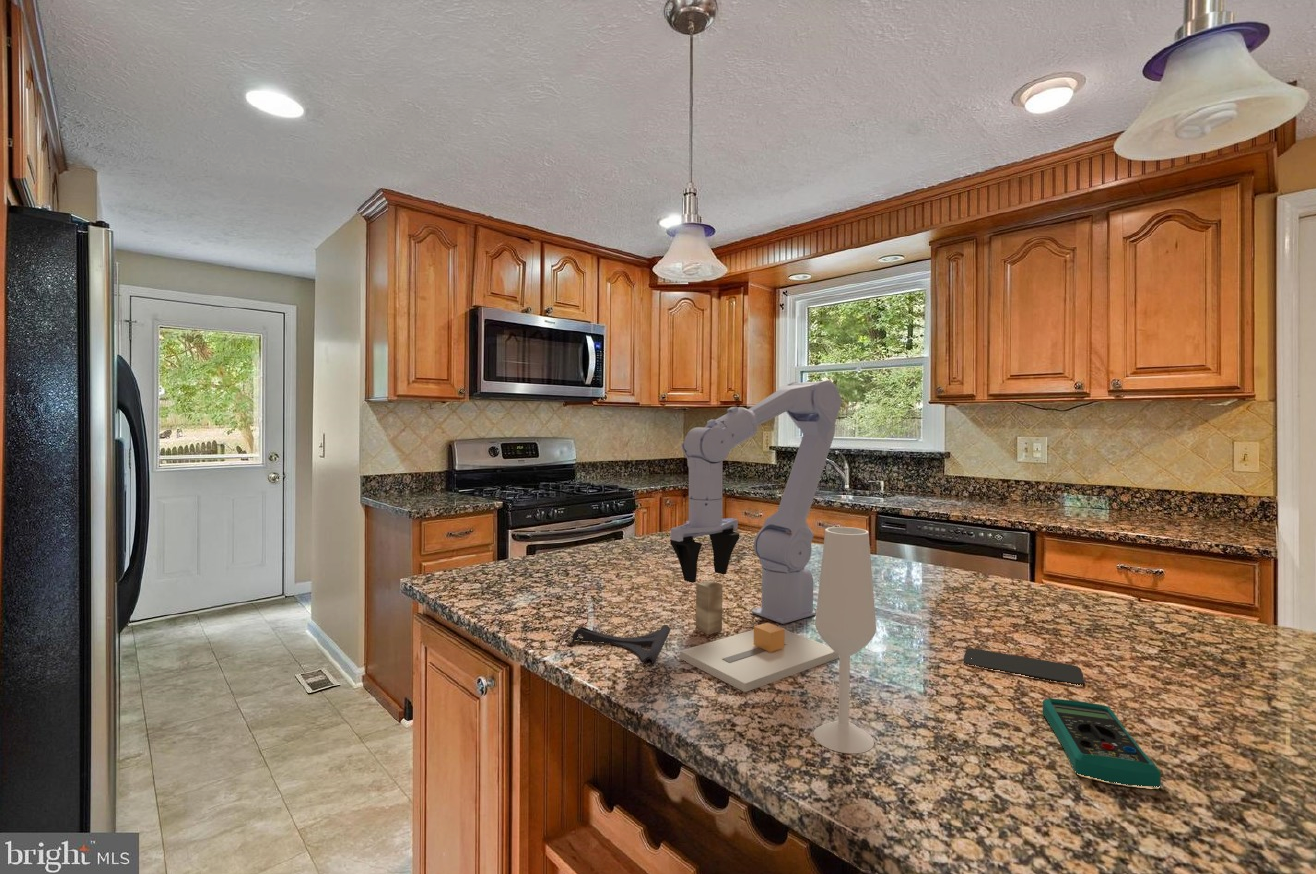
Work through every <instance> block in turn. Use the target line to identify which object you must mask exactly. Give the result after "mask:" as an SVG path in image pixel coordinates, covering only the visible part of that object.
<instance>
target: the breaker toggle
mask: <svg viewBox="0 0 1316 874" xmlns="http://www.w3.org/2000/svg"><path fill="white" fill-rule="evenodd" d="M753 630H754V645H755V646H757V647H760V648H762V649H765V650H767V651H769V652H773V651H776V650H779V649H782V648H784V642H785V630H786V629H785V628H783V627H780V626H777V625H775V624H772V623H769V622H765V623H762V624H758V625H754V626H753Z"/></svg>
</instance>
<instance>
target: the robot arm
mask: <svg viewBox="0 0 1316 874" xmlns="http://www.w3.org/2000/svg"><path fill="white" fill-rule="evenodd" d="M841 397H842V396H841V395H840V391H839V389H838V387H837V385H836V384H835V383H834V382H833V381H831V380H827V379H826V380H825V379H824V380H821V381H808V382H807V381H806V382H805V381H804V382H798V381H795V382H793V381H792V382H790V383H787V384H786V385H783V386H780V387H779V389H778V390H776V391H774V392H773V393H772V394H770V395H768V396H767V397H765V398H764V399H761V401H759V402H757V403H756V404H754V405H753V406H751V407H750V408H748V409H747V408H745V407H743V406H739V407H737V406H731V407H729V408H727V410H726V411H727V413H725V414H724V415H721V416H720V417H718V418H716V419H709V420H707V422H706V423H707V424H706V425H705V426H704V427H703V426H702V427H701V426H699V427H697V426H696V427H693V428H691V429H690V430H689V431H688V432H687V434H686V435H685V437H684V440H683V441H684V442H683V443H681V451H682V453H683V455H684V456H685V457H686V460H687V462H686V463H687V467H688V520H686V521H685V523H684V524H682V525H679V526H675V527H671V528H670V541H669V543H670V546H671V547H672V549H673V550H674V552H675V555H676V557H677V559H678V562H679V564H680V565H679V566H680V569H681V572H682V576H683V580H684V581H685V582H688V583H692V584H693V583H696V580H697V577H698V576H697V573H698V572H697V571H698V560H699V557H700V556H699V555H700V551H701V549H702V546H703V543H701V542H697V541H695V538H698V537H704V536H708V535H709V538H710V539H709V540H710V542H711V543H710V544H711V546H712V547H711V548H712V555H713V556H712V557H713V568H714V573H717V574H719V575H727V571H728V567H729V563H730V561H731V556H732V553H733V551H734V549H735V546H736V544H737V543H738V541H739V540H740V532H736V531H738V530H739V529H738V528H739V522H738V521H739V520H738V518H737V519H736V518H732V517H728V518H726V517H725V518H723V461H725V460H726V458H727V457H728V455H729V454H730V451H731V450H732V449H734V448H735V447H737V446H739V445H741V444H742V443H744V442H745V441H747V440H749V439H751V438H752V437H754V436H755V435H756V434H757V431H758V427H759V426H760V425H762V424H764V423H765V422H768V421H770V420H772V419H774V418H776V417H778V416H780V415H782V414H784V413H786V414H787V415H788V416H789V418H790V419H791V420H792V422H793V423H794V424H795V425H796V427H797V428H798V429H800V431H801V433H802V437H801V441H800V444H799V447H798V449H797V453H796V456H795V457H794V458H795V459H794V461H793V465H792V466H791V467H792V468H791V470H790V473H789V476H788V478H787V479H788V480H787V482H786V485H785V489H784V491H783V493H782V497H781V499H780V501H779V506H778V507H777V511H776V512H775V513H773V514H772V515H770V516H768V517H767V518H766V519H765V520H764V523H763V526H762V527H761V529H760V530H759V531H758V532H757V534H756V535H755V537H754V541H753V551H754V554H755V556H756V557H757V558H758V559H759V565H761V607H758V608H755V609H751V613H752V614H754V615H757V616H760V617H763V618H765V619H767V620H770V621H773V622H776V623H779V624H781V625H782V624H783V625H784V624H788V623H791V622H794V621H798V620H801V619H804V618H808V617H812V616H816V611H815V610H814V577H813V574H812V572H811V570H810V568H808V567H807V565H808V564H809V562H810V560H811V557H812V542H813V538H814V532H813V531H812V529H811V528H810V526H809V525H808V523H807V520H808V519H807V518H808V516H809V514H810V510H811V507H812V504H813V501H814V498H815V496H816V492H817V488H818V486H819V482H820V479H821V478H822V474H823V471H824V468H825V465H826V462H827V458H828V457H829V456H828V455H829V453H830V449H831V446H832V443H833V441H834V437H835V433H836V423H837V418H838V415H839V412H840V410H841V407H842V406H841V405H842V403H843V400H842V398H841Z"/></svg>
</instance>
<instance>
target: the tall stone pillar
mask: <svg viewBox="0 0 1316 874" xmlns="http://www.w3.org/2000/svg"><path fill="white" fill-rule="evenodd" d="M723 586H724V585H723V584H722V583H719V582H716V581H713V580H711V579H710V580H704V581H701V582H695V594H696V595H695V629H696V630H697V629H698V630H697V631H699V630H700V632H701V633H703V634H706V635H711V634H714V633H717V632H721V631H723Z"/></svg>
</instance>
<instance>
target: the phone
mask: <svg viewBox="0 0 1316 874" xmlns="http://www.w3.org/2000/svg"><path fill="white" fill-rule="evenodd" d="M965 649H966V650H965V651H964V656H963V659H964V663H966V664H969V665H974V666H975V665H976V666H979V667H984V668H988V669H993V670H1000V671H1005V672H1010V673H1015V674H1021V675H1025V676H1029V677H1034V678H1039V679H1045V680H1049V681H1050V680H1051V681H1057V682H1067V683H1071V684H1076V685H1077V684H1078V685H1080V684H1081V685H1082V684H1084V683H1085V682H1084V675H1083V672H1082V669H1081V667H1079V666H1077V665H1074V664H1068V663H1063V662H1057V661H1053V660H1044V659H1039V658H1034V657H1033V658H1032V657H1026V656H1023V655H1022V656H1021V655H1015V654H1010V653H1009V654H1008V653H1003V652H998V651H991V650H986V649H985V650H984V649H980V648H973V647H969V648H965ZM971 658H972V659H971ZM964 663H963V664H964Z"/></svg>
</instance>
